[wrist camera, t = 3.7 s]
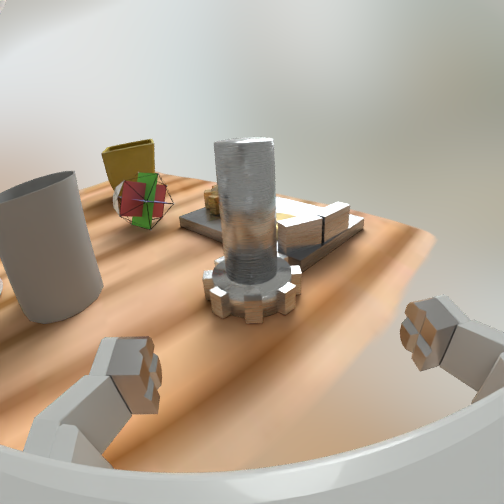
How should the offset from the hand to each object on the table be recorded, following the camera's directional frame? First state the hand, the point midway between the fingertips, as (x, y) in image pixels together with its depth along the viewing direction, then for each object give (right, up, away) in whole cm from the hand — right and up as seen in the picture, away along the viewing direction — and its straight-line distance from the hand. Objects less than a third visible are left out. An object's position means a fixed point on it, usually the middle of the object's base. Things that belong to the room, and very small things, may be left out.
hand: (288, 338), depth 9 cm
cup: (-18, -1, +15) cm, 23 cm away
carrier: (+1, +5, +25) cm, 26 cm away
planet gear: (-1, -1, +14) cm, 14 cm away
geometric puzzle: (-14, +6, +28) cm, 32 cm away
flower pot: (-22, +12, +42) cm, 49 cm away
